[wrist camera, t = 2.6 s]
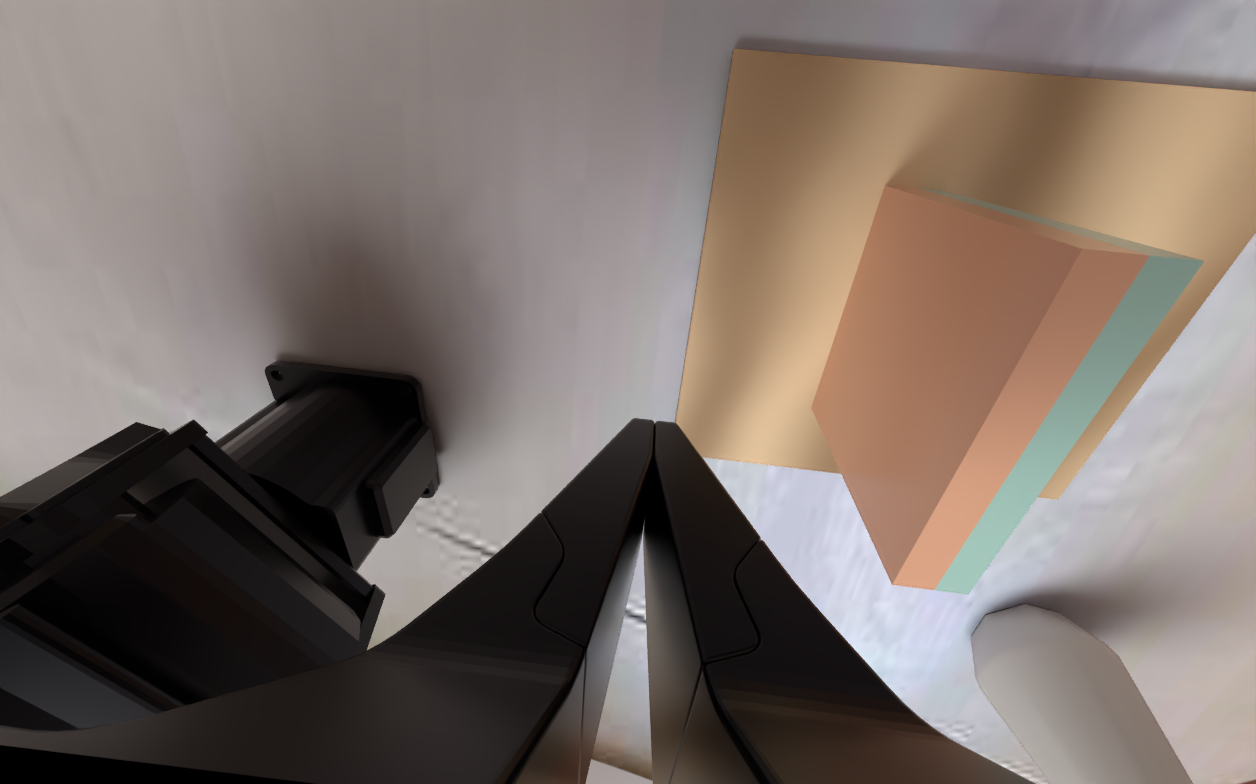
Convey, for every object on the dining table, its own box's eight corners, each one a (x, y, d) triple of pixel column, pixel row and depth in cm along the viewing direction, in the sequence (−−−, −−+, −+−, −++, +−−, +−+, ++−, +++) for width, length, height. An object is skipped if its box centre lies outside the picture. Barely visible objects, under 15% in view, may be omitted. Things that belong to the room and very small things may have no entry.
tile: (810, 408, 18) (892, 584, 11) (884, 185, 14) (1082, 248, 7) (858, 413, 18) (968, 594, 11) (945, 191, 14) (1205, 260, 7)
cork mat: (671, 447, 20) (670, 453, 20) (733, 50, 13) (734, 48, 13) (1051, 492, 20) (1057, 499, 19) (1335, 100, 12) (1353, 100, 12)
